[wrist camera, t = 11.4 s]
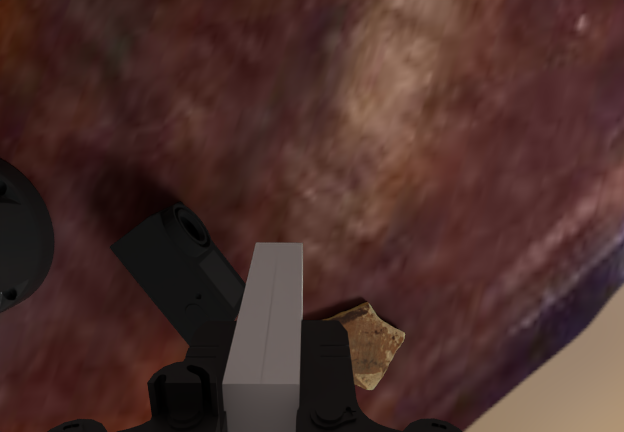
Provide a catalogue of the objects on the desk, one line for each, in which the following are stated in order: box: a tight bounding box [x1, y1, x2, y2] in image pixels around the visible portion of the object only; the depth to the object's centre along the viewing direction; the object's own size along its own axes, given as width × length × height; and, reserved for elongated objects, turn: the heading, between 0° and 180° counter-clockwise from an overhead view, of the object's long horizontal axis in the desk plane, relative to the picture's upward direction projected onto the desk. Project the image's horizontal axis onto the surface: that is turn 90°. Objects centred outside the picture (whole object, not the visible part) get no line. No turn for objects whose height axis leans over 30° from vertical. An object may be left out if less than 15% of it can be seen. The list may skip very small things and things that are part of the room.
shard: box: [323, 302, 405, 390], centre depth 44 cm, size 11×8×2 cm
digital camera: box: [110, 202, 246, 346], centre depth 40 cm, size 10×5×7 cm, turn 37°
